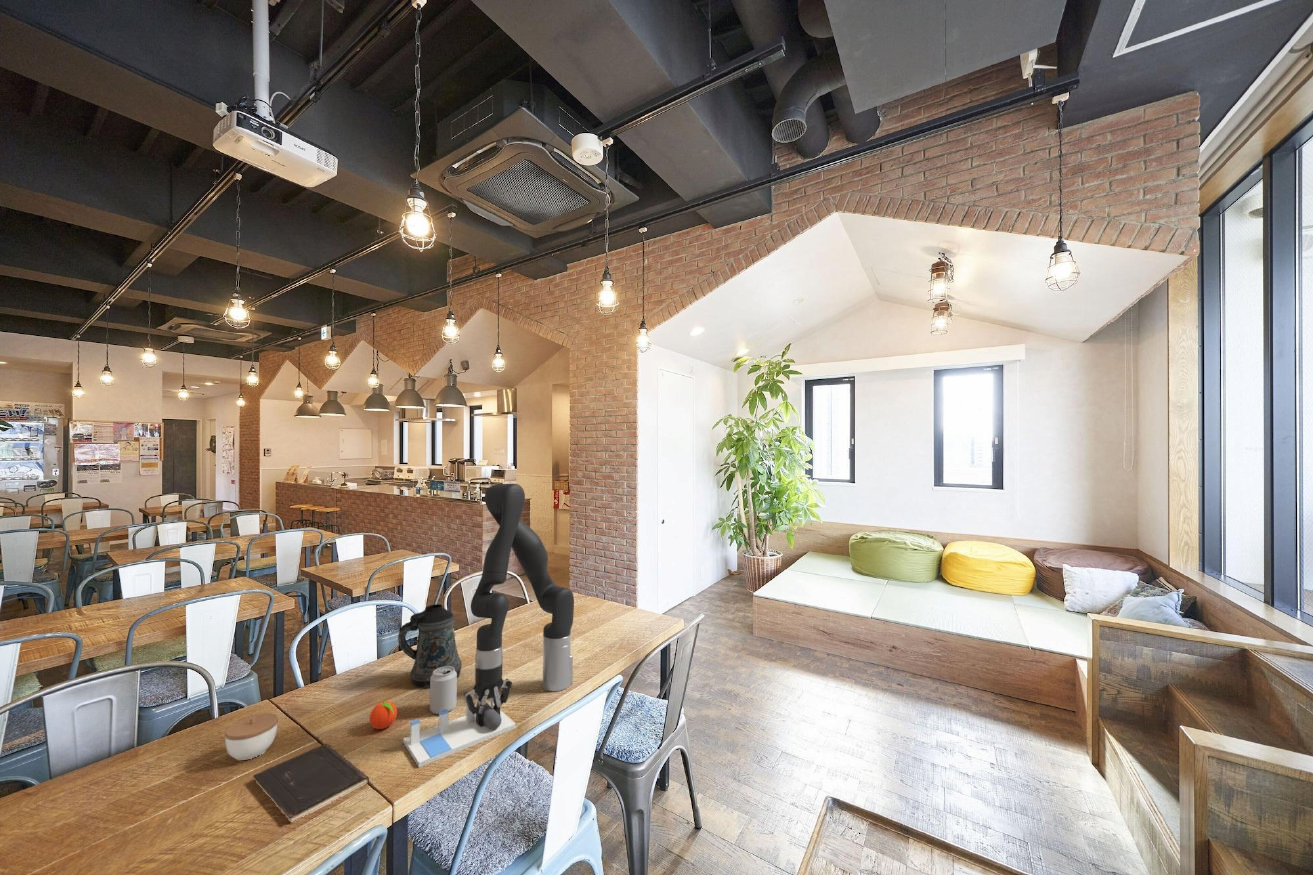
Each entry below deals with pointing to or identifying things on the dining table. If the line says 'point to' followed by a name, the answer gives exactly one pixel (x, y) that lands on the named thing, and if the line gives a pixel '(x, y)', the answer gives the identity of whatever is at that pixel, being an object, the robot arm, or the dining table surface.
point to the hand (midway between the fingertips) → (488, 722)
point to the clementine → (383, 715)
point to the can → (443, 689)
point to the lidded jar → (251, 736)
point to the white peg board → (450, 736)
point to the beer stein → (431, 644)
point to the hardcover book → (310, 781)
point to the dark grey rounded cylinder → (491, 717)
